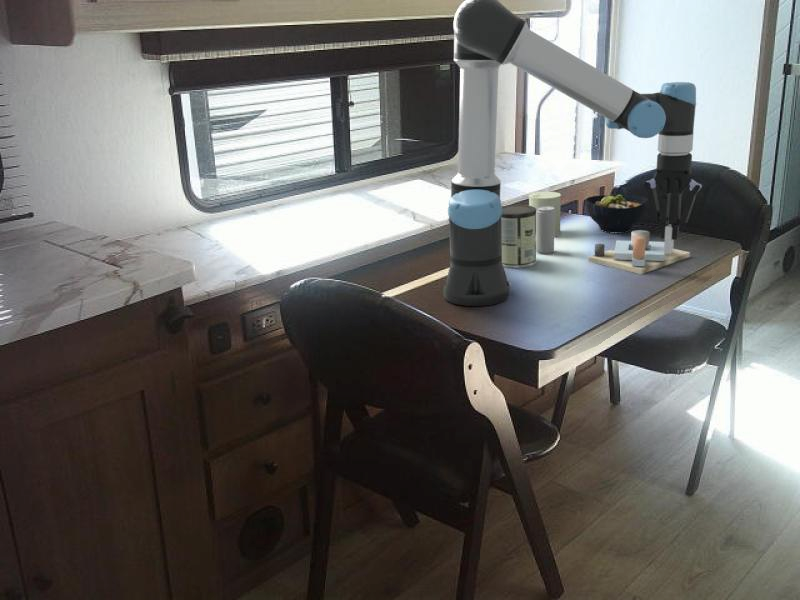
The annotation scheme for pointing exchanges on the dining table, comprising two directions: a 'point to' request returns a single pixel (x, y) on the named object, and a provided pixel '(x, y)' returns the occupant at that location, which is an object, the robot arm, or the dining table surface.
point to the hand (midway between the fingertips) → (668, 252)
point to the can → (548, 200)
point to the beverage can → (545, 229)
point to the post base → (609, 260)
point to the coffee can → (518, 236)
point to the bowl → (616, 211)
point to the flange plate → (628, 252)
